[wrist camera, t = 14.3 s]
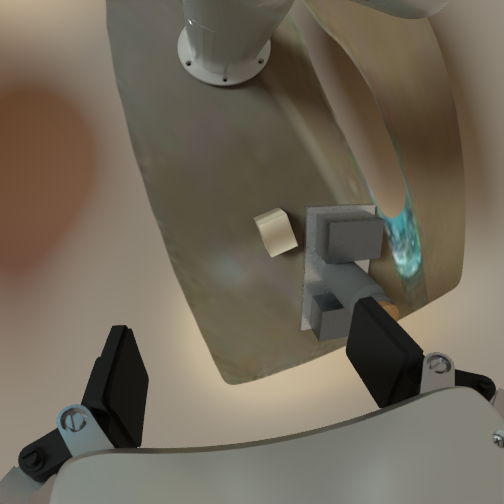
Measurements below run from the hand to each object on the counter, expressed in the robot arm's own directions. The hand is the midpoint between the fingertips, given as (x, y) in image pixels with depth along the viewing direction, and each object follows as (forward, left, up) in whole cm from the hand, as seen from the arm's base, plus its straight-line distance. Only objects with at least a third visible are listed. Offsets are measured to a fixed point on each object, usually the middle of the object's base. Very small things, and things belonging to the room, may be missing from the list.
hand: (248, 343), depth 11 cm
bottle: (+13, +19, -30) cm, 37 cm away
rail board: (+13, +19, -30) cm, 38 cm away
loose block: (+5, +8, -31) cm, 32 cm away
